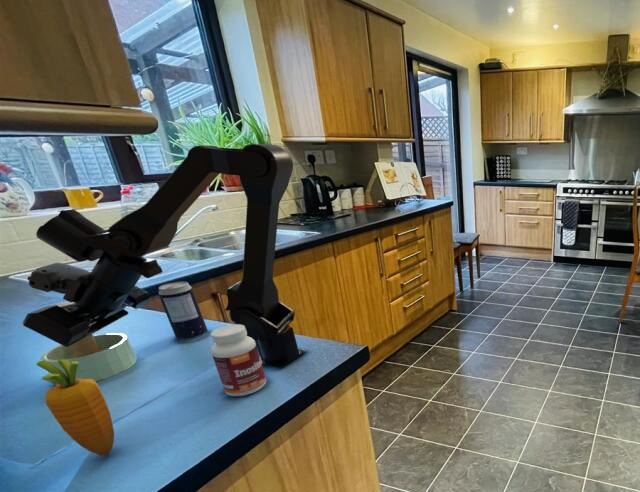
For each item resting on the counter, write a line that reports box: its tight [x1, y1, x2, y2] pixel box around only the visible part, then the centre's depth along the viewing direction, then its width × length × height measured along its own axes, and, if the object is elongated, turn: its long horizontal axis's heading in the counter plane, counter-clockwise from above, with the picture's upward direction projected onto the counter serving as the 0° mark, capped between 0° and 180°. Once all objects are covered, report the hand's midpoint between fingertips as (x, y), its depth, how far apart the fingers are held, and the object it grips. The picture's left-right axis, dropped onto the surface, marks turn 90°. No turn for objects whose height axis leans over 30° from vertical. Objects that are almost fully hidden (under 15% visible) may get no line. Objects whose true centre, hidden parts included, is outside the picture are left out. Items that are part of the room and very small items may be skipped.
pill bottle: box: [210, 323, 267, 397], centre depth 67 cm, size 6×6×11 cm
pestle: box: [53, 300, 106, 359], centre depth 72 cm, size 5×5×13 cm
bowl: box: [40, 332, 138, 386], centre depth 74 cm, size 11×11×6 cm
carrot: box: [36, 359, 115, 457], centre depth 51 cm, size 5×5×15 cm
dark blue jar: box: [158, 281, 208, 341], centre depth 86 cm, size 6×6×12 cm
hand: (73, 340), depth 72 cm, fingers closed on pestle, 3 cm apart
